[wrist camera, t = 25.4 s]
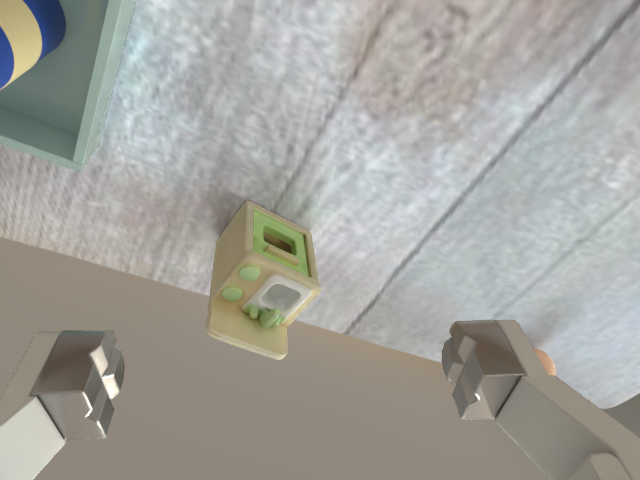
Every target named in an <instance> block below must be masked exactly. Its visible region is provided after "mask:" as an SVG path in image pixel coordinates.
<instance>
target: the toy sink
mask: <svg viewBox="0 0 640 480" xmlns="http://www.w3.org/2000/svg"><path fill="white" fill-rule="evenodd" d="M320 292H321V285H320V283H319V281H318V275H317V268H316V261H315V254H314V248H313V241H312V235H311V232H309V231H308V230H306V229H304V228H302V227H300V226H298V225H296V224H294V223H292V222H290V221H288V220H286V219H284V218H282V217H280V216H278V215H276V214H274V213H273V212H271V211H269V210H267V209H265V208H263V207H261V206H259V205H257V204H255V203H253V202H251V201H248V200H246V201H245V202H244V204H243V205H242V206H241V208H240V209H239V211H238V212H237V213H236V215H235V216H234V217H233V219H232V220H231V222H230V223H229V224H228V226H227V227H226V229H225V230H224V231H223V233H222V234H221V236H220V237H219V238H218V240H217V243H216V250H215V257H214V264H213V273H212V280H211V288H210V296H209V304H208V313H207V321H206V332H207V333H208V334H209V335H210V336H211V337H213V338H215V339H218V340H221V341H223V342H226V343H229V344H232V345H235V346H238V347H240V348H243V349H246V350H249V351H252V352H255V353H258V354H261V355H264V356H267V357H270V358H273V359H278V360H280V359H282V358H284V357H285V355H286V354H287V351H288V349H287V348H288V347H287V327H288V326H289V325H290V323H292V321H293V320H294V319H295V318H296V317H297V316H298V315H299V314H300V313H301V312H302V311H303V310H304V309H305V308H306V307H307V306H308V305H309V304H310V303H311V302H312V301H313V300H314V299H315V298H316V297H317V295H318V294H319V293H320Z"/></svg>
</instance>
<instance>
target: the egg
mask: <svg viewBox="0 0 640 480" xmlns="http://www.w3.org/2000/svg"><path fill="white" fill-rule="evenodd" d="M534 351H535V352H536V354H537V356H538V358H539V359H540V361H541V363H542V364H543V366H544V368H545V370H546V371H547V373H548V375H555V372H556V369H555V365H554V363H553V361H552V359H551V358H550V356H549V355H548V354H546V353H545V352H543V351H541V350H538V349H534Z"/></svg>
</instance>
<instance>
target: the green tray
mask: <svg viewBox="0 0 640 480" xmlns="http://www.w3.org/2000/svg"><path fill="white" fill-rule="evenodd" d="M59 2H60V4H61V7H62V9H63V12H64V15H65V21H66V31H65V35H64V38H63V40H62V42H61V44H60V45H59V46H58V47H57V48H56V49H54V50H53V51H52V52H50V53H49V54H48V55H46V56H45V57H43V58H42V59H41V60H39V61H38V62H37V63H36V64H35V65H34V66H33V67H31V68H30V69H29V70H27V71H26V72H25V73H23V74H22V75H21V76H19V77H18V78H16V79H15V80H14V81H12V82H11V83H10V84H8V85H7V86H6V87H4V88H3V89H1V90H0V144H3V145H6V146H9V147H11V148H14V149H17V150H20V151H23V152H25V153H28V154H31V155H34V156H37V157H39V158H42V159H45V160H48V161H51V162H53V163H56V164H59V165H62V166H65V167H67V168H70V169H73V170H76V171H79V172H81V171H82V170H83V168H84V167H85V165H86V164H87V162H88V161H89V160H90V158H91V157H92V155H93V154H94V152H95V151H96V149H97V148H98V146H99V143H100V139H101V135H102V131H103V127H104V123H105V119H106V116H107V112H108V108H109V104H110V100H111V96H112V92H113V88H114V85H115V81H116V77H117V73H118V69H119V65H120V61H121V58H122V54H123V50H124V46H125V42H126V38H127V34H128V30H129V27H130V23H131V19H132V15H133V11H134V7H135V3H136V0H59Z"/></svg>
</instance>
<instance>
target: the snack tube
mask: <svg viewBox="0 0 640 480" xmlns="http://www.w3.org/2000/svg"><path fill="white" fill-rule="evenodd" d="M65 31H66V21H65V15H64V12H63V9H62V7H61V4H60V2H59V0H0V90H1V89H3V88H4V87H6V86H7V85H8V84H10V83H11V82H12V81H14V80H15V79H16V78H18V77H19V76H21V75H22V74H23V73H25V72H26V71H27V70H29V69H30V68H31V67H33V66H34V65H35V64H36V63H37V62H38V61H39V60H41V59H42V58H43V57H45V56H46V55H48V54H49V53H50V52H52V51H53V50H54V49H56V48H57V47H58V46H59V45H60V44H61V42H62V40H63V38H64V35H65Z"/></svg>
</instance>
